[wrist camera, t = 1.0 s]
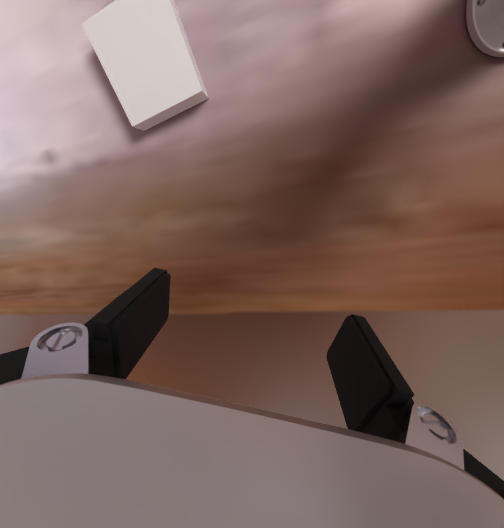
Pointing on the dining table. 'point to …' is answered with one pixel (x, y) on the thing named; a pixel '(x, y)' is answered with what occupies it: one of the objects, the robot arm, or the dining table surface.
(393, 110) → the dining table surface
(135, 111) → the base tile
